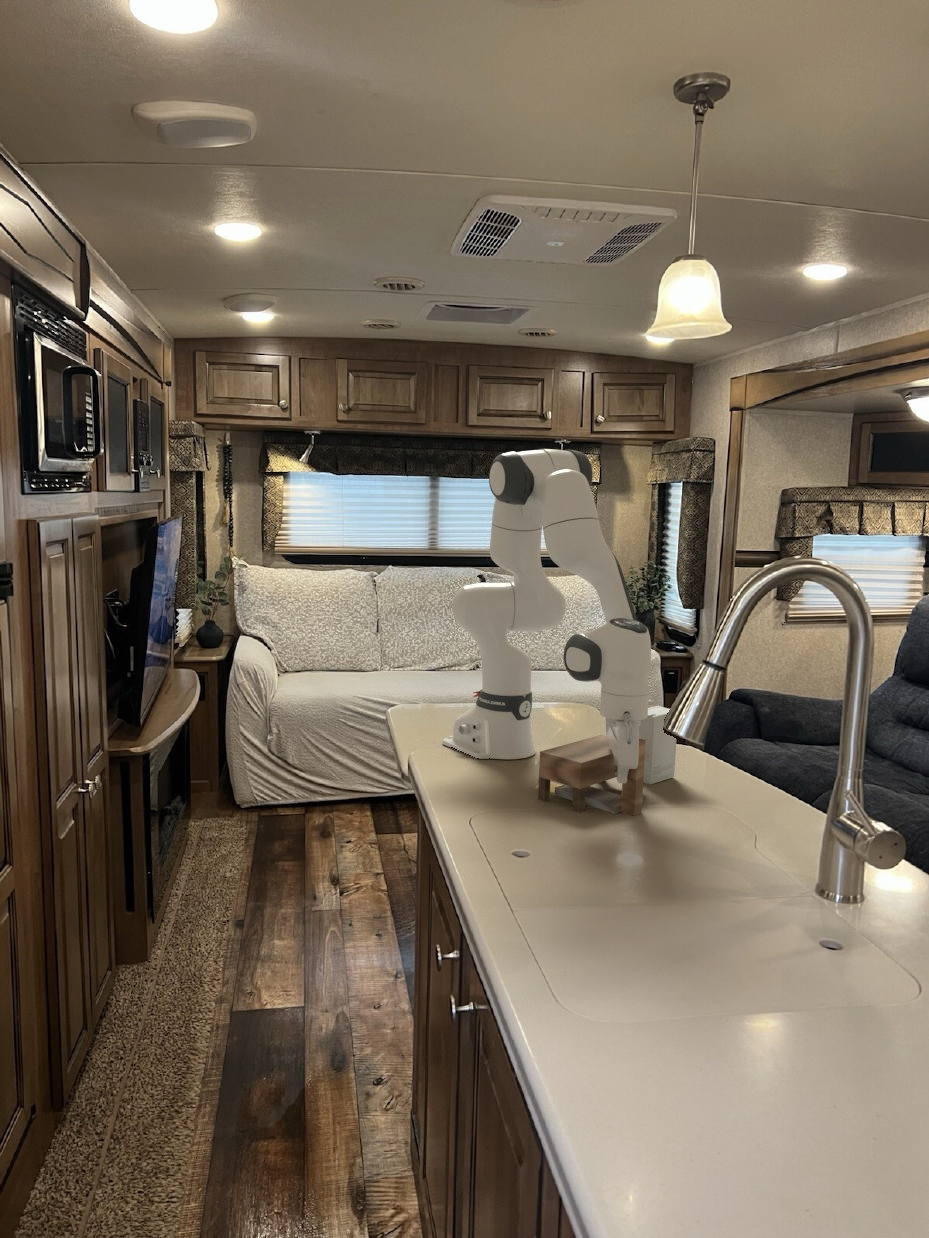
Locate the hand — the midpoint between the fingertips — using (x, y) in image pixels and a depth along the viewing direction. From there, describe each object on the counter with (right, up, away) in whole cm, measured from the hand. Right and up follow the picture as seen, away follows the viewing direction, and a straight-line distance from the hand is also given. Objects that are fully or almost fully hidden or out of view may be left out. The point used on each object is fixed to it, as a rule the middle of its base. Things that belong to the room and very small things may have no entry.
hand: (620, 778), depth 173 cm
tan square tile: (-12, -5, +12) cm, 17 cm away
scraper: (-3, -6, +5) cm, 8 cm away
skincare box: (+10, -4, +21) cm, 24 cm away
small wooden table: (-4, -5, +9) cm, 11 cm away
